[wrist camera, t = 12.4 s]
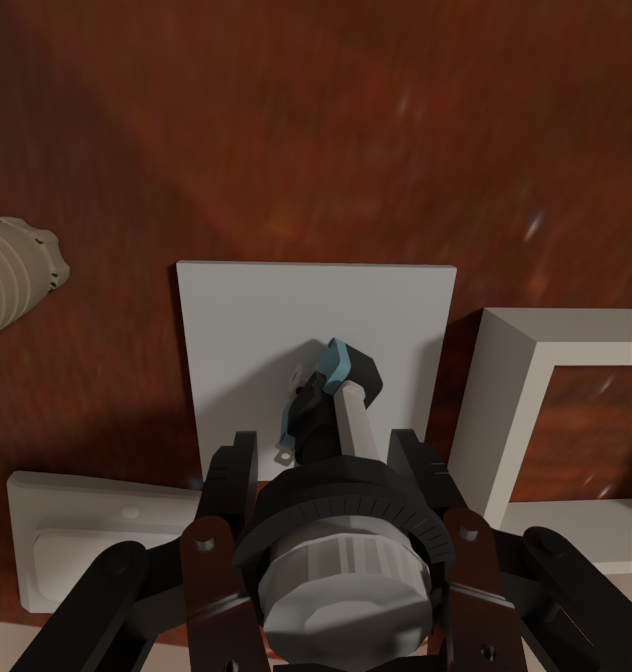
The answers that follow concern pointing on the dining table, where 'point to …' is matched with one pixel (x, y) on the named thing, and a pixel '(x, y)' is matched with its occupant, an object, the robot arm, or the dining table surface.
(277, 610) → the push button
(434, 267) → the pad
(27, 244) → the handle
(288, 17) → the dining table surface
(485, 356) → the grey rectangular frame
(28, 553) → the light switch
